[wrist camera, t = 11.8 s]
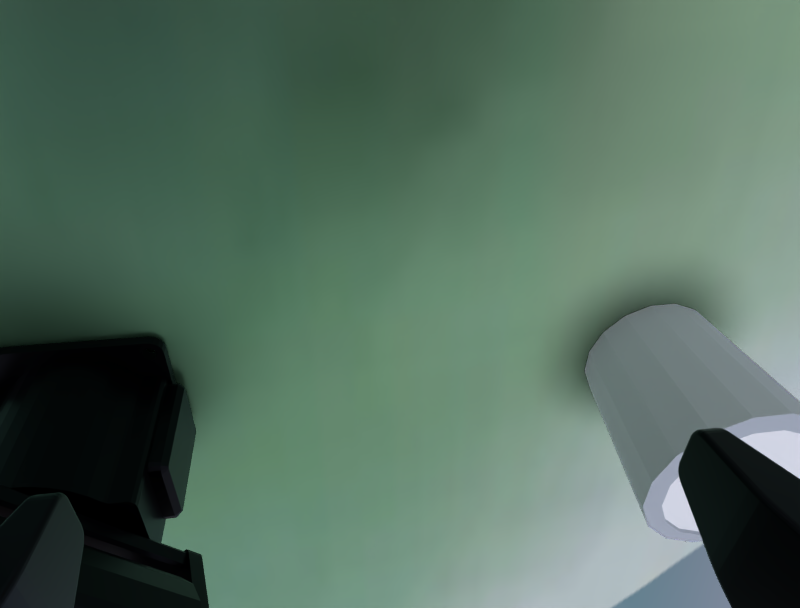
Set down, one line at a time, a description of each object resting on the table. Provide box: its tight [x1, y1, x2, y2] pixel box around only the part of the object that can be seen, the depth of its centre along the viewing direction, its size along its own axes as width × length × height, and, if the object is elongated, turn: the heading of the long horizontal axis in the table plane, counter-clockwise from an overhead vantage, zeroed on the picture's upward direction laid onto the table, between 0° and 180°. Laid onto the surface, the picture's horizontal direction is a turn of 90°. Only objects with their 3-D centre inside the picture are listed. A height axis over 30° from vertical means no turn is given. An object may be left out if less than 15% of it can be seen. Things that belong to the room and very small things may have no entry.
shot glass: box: [585, 304, 800, 542], centre depth 24 cm, size 7×7×7 cm
